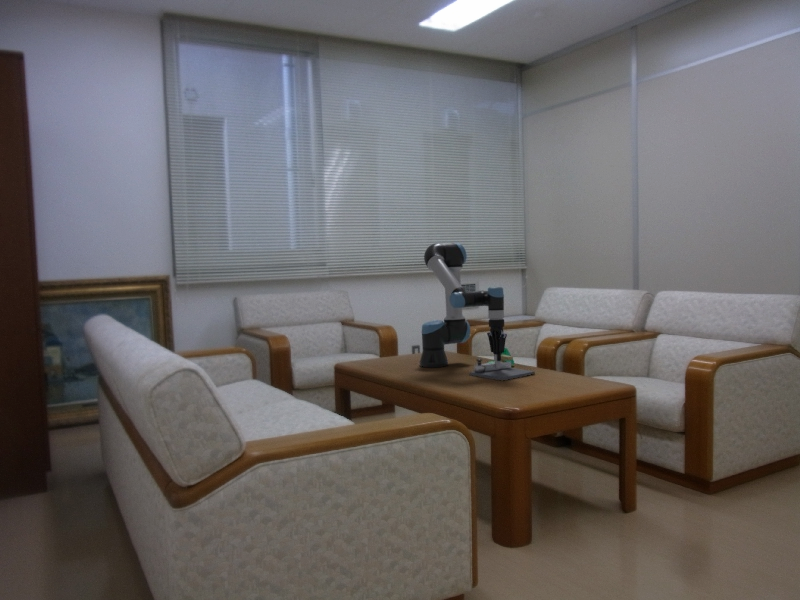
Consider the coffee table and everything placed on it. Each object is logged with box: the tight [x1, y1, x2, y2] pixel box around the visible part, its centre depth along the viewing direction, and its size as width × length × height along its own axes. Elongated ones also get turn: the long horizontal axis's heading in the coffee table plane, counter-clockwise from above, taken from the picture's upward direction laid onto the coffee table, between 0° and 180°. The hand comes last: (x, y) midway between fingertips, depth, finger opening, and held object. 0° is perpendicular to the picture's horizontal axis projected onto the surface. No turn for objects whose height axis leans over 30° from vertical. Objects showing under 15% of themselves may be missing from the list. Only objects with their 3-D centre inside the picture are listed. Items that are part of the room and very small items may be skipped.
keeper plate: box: [468, 355, 536, 382], centre depth 316 cm, size 22×22×8 cm
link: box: [473, 358, 512, 372], centre depth 322 cm, size 20×5×6 cm, turn 121°
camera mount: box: [486, 347, 515, 366], centre depth 340 cm, size 12×8×10 cm, turn 120°
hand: (497, 367), depth 320 cm, fingers closed
